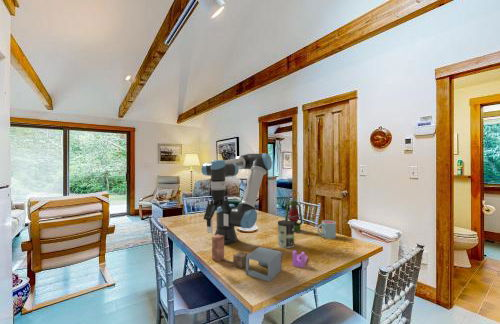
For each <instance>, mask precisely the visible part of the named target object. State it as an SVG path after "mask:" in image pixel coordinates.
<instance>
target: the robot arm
mask: <svg viewBox="0 0 500 324" xmlns="http://www.w3.org/2000/svg"><path fill="white" fill-rule="evenodd" d="M272 166H273V163H272V158H271V156H270V154H268V153H265V152H264V153H247V154H246V153H245V154H242V155H239V156H235V158H230V159H226V160H223V159H220V160H219V159H216V160H215V159H212V160H211V162H207V163H203V164H202V166H201V174H202V175H204V176H207V177H210V189H211V190H210V197H211V198H212V199H208V200H207V206H206V209H205V212H204V216H203V220H205V221H206V227H207V231H206V232H207V233H210V234H213V217H214V215H215V212H216V230H215V233H214V236H215V235H217V234H218V235H223V236H224V245H231V244H234V243H236V242H237V241H238V236H237V232H236V230H235V227H237V228H241V229H251V228H253V227H254V226H255V224H256V222H257V220H258V212H257V210H256V207H255V205H256V201H257V198H258V195H259V192H260V187H261V184H262V181H263V179H264V178H263V177H264V175H265V176H266V174H267V172H268V171H270V170H271V169H272ZM240 170H250V171H251V172H250V175H249V178H248V181H247V185H246V187H245V190H244V193H243V196H242V199H241V202H239V203H238V205H237V207H235V204H233V203H229V198H228V196H226V178H229V177H235V176H237V175H238V174H239V171H240Z"/></svg>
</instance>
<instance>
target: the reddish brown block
mask: <svg viewBox="0 0 500 324" xmlns="http://www.w3.org/2000/svg"><path fill="white" fill-rule="evenodd" d="M247 255H248V253H246V252H243V251H237V252H235V253H234V254H233V255H232V257H233V258H232V259H233V260H229V259H225V244H224V236H223V235H218V234H217V235H215V234H214V235H213V236H211V260H212V261H216V262H220V261H223V262H228V263H231V264H232V265H233V266H232V267H236V268H239V269H243V268H244V267H246V256H247Z"/></svg>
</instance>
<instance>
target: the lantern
mask: <svg viewBox="0 0 500 324" xmlns="http://www.w3.org/2000/svg"><path fill="white" fill-rule="evenodd" d="M291 192H294V193H297V194H298V195H300V193H299V192H298V191H297V190H290V191H289V192H288V194H287V195H288V196H287V198H288V199H287V202H286V205H287V206H286V210H285V216H284V217H285V218H284V220H288V221H293V222H294V223H295V224H294V234H296V233H300V232H302V229H301V226H302V225H303V223H304V222H303V221H304V220H303V214H302V207H301V205H302V203H301V201H300V197H298V199H296V198H295V197H292V198H291V199H289V197H290V193H291ZM289 200H290V202H289ZM298 202H299V203H298ZM297 206H298V207H297ZM298 221H300V222H298Z"/></svg>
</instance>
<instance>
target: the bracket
mask: <svg viewBox="0 0 500 324" xmlns="http://www.w3.org/2000/svg"><path fill="white" fill-rule="evenodd" d="M291 255H292V256H291V257H292V261H291V264H292V266H293V267H298V268H303V269H304V268H305V265H306V263H307V261H308V255H306V251H301V252H300V253H299V254H298V251H297V250H294V249H293V250H292V254H291Z"/></svg>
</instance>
